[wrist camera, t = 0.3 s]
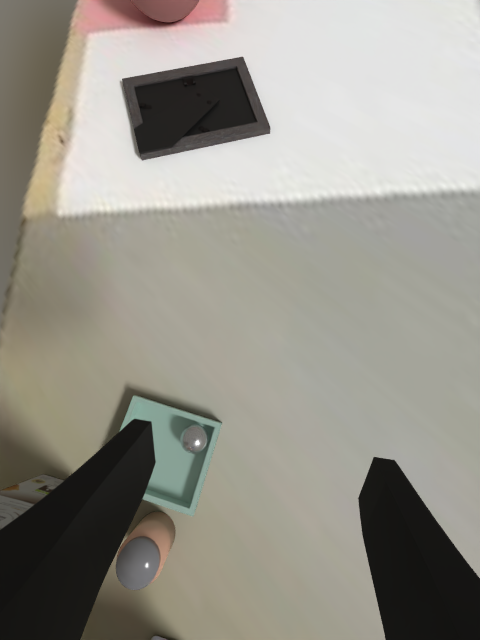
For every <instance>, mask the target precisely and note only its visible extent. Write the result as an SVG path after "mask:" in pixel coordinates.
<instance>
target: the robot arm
mask: <svg viewBox="0 0 480 640" xmlns="http://www.w3.org/2000/svg"><path fill="white" fill-rule="evenodd" d="M155 463H156V461H155V451H154V441H153V431H152V421H146V420H140V419H133V420H132V421H130V422H129V423H128V424H127V425H126V426H125V427H124V428H123V429H122V430H121V431H120V432H119V433H118V434H117V435H115V436H114V437H113V438H112V439H111V440H110V441H109V442H108V443H107V444H106V445H105V446H104V447H102V448H101V449H100V450H99V451H98V452H97V453H96V454H95V455H94V456H92V457H91V458H90V459H89V460H88V461H87V462H86V463H84V464H83V465H82V466H81V467H80V468H79V469H78V470H76V471H75V472H74V473H73V474H72V475H71V476H69V477H68V478H67V479H66V480H64V481H63V482H62V483H61V484H60V485H58V486H57V487H56V488H55V489H53V490H52V491H51V492H50V493H48V494H47V495H46V496H45V497H43V498H42V499H41V500H40V501H38V502H37V503H36V504H34V505H33V506H32V507H31V508H29V509H28V510H27V511H25V512H24V513H23V514H21V515H20V516H18V517H17V518H16V519H14V520H13V521H11V522H10V523H9V524H7V525H6V526H5V527H3V528H2V529H0V640H80V639H81V636H82V633H83V631H84V628H85V625H86V623H87V620H88V618H89V615H90V613H91V610H92V608H93V605H94V602H95V600H96V597H97V595H98V592H99V590H100V587H101V585H102V583H103V580H104V578H105V576H106V574H107V571H108V569H109V567H110V565H111V563H112V561H113V559H114V557H115V555H116V553H117V551H118V549H119V547H120V544H121V542H122V540H123V538H124V536H125V534H126V532H127V530H128V528H129V526H130V524H131V522H132V520H133V517H134V515H135V513H136V511H137V509H138V507H139V505H140V503H141V501H142V499H143V496H144V494H145V492H146V489H147V486H148V483H149V481H150V478H151V475H152V472H153V469H154V466H155ZM358 499H359V509H360V518H361V526H362V534H363V539H364V544H365V548H366V553H367V557H368V562H369V566H370V571H371V575H372V580H373V584H374V588H375V593H376V597H377V602H378V606H379V611H380V615H381V619H382V624H383V628H384V633H385V638H386V640H480V578H479V577H478V576H477V574H476V573H475V572H474V571H473V569H472V568H471V567H470V565H469V564H468V563H467V562H466V560H465V559H464V558H463V556H462V555H461V554H460V552H459V551H458V550H457V548H456V547H455V546H454V544H453V543H452V541H451V540H450V539H449V537H448V536H447V535H446V533H445V532H444V530H443V529H442V528H441V526H440V525H439V524H438V522H437V521H436V519H435V518H434V517H433V515H432V514H431V512H430V511H429V510H428V508H427V507H426V505H425V504H424V502H423V501H422V499H421V498H420V497H419V495H418V494H417V492H416V491H415V489H414V488H413V486H412V485H411V483H410V482H409V480H408V479H407V477H406V476H405V474H404V473H403V471H402V470H401V469H400V467H399V466H398V464H397V463H396V461H395V460H390V459H383V458H377V457H374V458H373V461H372V464H371V466H370V469H369V472H368V474H367V477H366V479H365V482H364V485H363V487H362V490H361V493H360V495H359V498H358ZM151 640H167V639H164V638H162V637H159V636H153V637H152V639H151Z"/></svg>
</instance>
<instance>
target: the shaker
mask: <svg viewBox="0 0 480 640" xmlns="http://www.w3.org/2000/svg"><path fill="white" fill-rule="evenodd" d="M174 539H175V525H174V523H173V521H172V519H171V518H170V517H169V516H168V515H167V514H165V513H163V512H152V513H149V514H148V515H146V516H145V517H144V518H143V519H142V520H141V521H140V523H139V524H138V525H137V526H136V528H135V529H134V530H133V531H132V533H131V534H130V535H129V536H128V538H127V539H126V540H125V541H124V543H123V544H122V545H121V547H120V549H119V552H118V555H117V562H116V573H117V577H118V579H119V581H120V582H121V584H122V585H123V586H125V587H126V588H128V589H131V590H139V589H142V588H144V587H146V586H147V585H149V584H151V583H152V582H153V581H154V580H155V579H156V578H157V577H158V575H159V574H160V572H161V570H162V567H163V565H164V563H165V561H166V558H167V556H168V554H169V551H170V549H171V547H172V545H173V542H174Z"/></svg>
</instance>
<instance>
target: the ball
mask: <svg viewBox="0 0 480 640" xmlns="http://www.w3.org/2000/svg"><path fill="white" fill-rule="evenodd" d="M180 443H181V446H182V448H183V449H184V450H185V451H186V452H187V453H190V454H197V453H199V452H201V451H202V450H204V448H205V447H206V445H207V443H208V434H207V431H206V430H205V429H204V428H203V427H202V426H201V425H198V424H192V425H189V426H187V427H186V428H185V429H184V430H183V431H182V433H181V436H180Z"/></svg>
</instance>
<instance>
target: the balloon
mask: <svg viewBox="0 0 480 640" xmlns="http://www.w3.org/2000/svg"><path fill="white" fill-rule="evenodd" d="M131 2H132V3H133V4H134V5H135V6H136V7H137V8H138V9H139V10H140V11H141V12H142V13H144V14H145V15H147V16H148V17H150V18H152V19H154V20H157V21H161V22H174V21H178V20H180V19H182V18H184V17H186V16H187V15H188V14H189V13H190V12H191V11H192V10H193V9H194V8H195V7H196V5H197V3H198V2H199V0H131Z"/></svg>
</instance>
